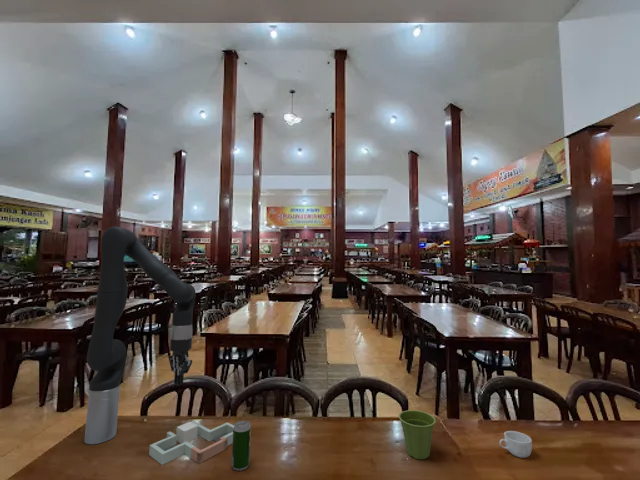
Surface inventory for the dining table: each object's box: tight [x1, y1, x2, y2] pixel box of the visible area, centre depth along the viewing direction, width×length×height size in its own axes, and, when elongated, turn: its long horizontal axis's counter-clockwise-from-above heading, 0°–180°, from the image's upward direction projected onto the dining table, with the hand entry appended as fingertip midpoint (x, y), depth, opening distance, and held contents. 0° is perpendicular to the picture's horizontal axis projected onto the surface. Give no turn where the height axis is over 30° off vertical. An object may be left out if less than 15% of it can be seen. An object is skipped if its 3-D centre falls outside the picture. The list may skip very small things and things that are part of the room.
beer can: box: [231, 420, 252, 472], centre depth 94 cm, size 5×5×12 cm
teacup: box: [498, 430, 533, 459], centre depth 101 cm, size 10×8×5 cm
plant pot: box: [398, 409, 437, 460], centre depth 101 cm, size 12×12×11 cm
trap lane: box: [148, 421, 234, 466], centre depth 104 cm, size 20×25×3 cm
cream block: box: [175, 421, 198, 444], centre depth 108 cm, size 5×5×4 cm
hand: (178, 384), depth 114 cm, fingers closed
